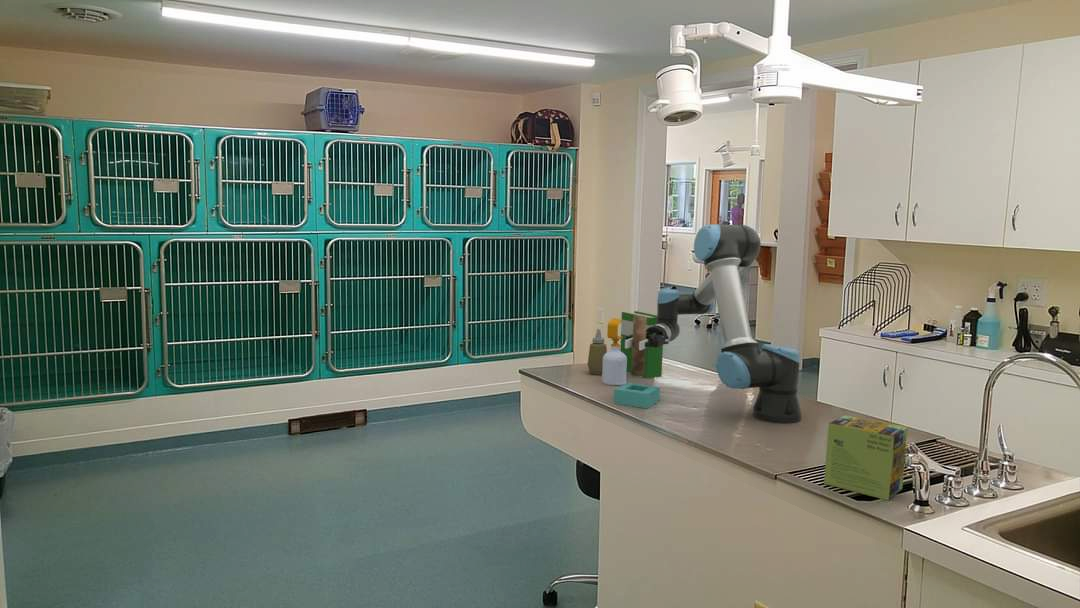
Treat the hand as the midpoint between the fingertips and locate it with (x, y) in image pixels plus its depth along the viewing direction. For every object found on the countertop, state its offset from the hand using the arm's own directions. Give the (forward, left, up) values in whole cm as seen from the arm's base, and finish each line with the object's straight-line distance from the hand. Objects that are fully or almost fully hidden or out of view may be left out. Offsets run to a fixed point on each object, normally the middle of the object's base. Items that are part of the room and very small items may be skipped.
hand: (633, 345), depth 248 cm
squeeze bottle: (+30, -38, -21) cm, 53 cm away
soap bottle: (+18, -27, -21) cm, 39 cm away
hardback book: (+16, -49, -21) cm, 56 cm away
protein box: (-76, +39, -21) cm, 88 cm away
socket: (0, -5, -21) cm, 21 cm away
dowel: (0, -5, -11) cm, 12 cm away
